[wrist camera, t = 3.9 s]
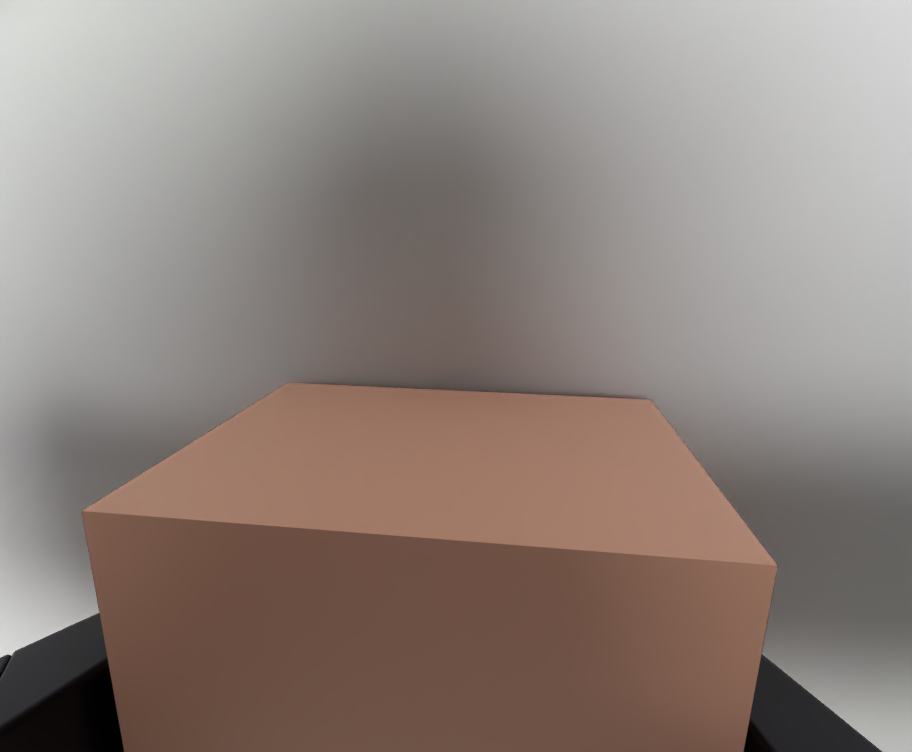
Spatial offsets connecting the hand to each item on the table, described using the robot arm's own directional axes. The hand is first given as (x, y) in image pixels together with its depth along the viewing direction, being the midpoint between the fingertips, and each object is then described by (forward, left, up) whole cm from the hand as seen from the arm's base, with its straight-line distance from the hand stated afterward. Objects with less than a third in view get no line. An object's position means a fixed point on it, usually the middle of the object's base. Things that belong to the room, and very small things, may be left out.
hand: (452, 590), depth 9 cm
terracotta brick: (0, 0, -1) cm, 1 cm away
